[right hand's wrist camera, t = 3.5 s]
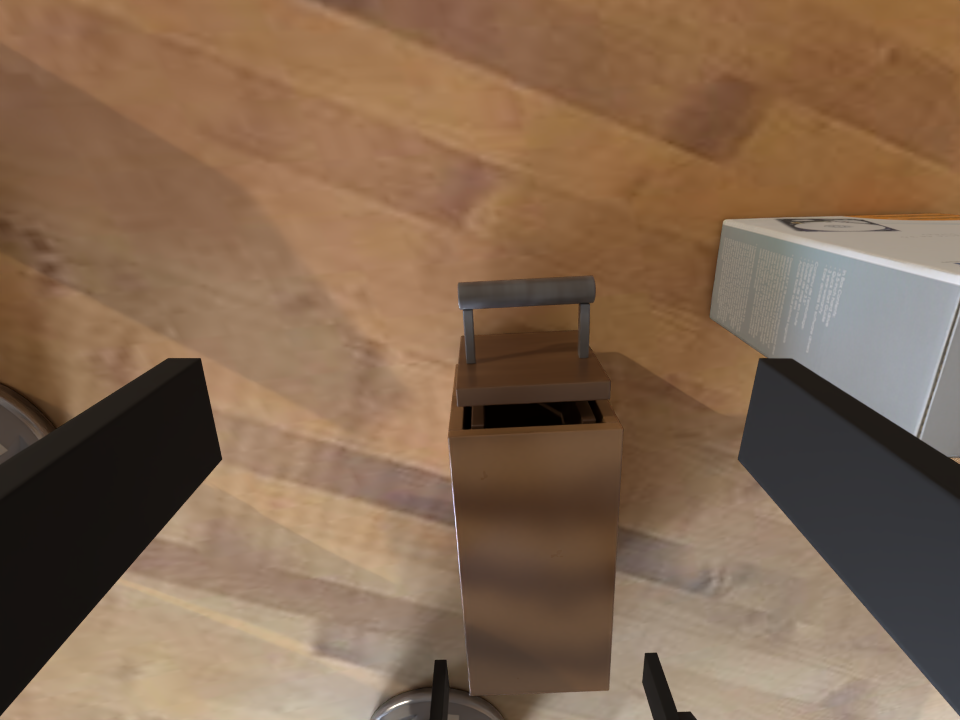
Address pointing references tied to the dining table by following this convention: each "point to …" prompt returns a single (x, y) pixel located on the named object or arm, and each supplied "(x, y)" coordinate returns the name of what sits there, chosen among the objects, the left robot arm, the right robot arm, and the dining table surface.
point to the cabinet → (537, 550)
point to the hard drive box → (854, 308)
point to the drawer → (529, 358)
